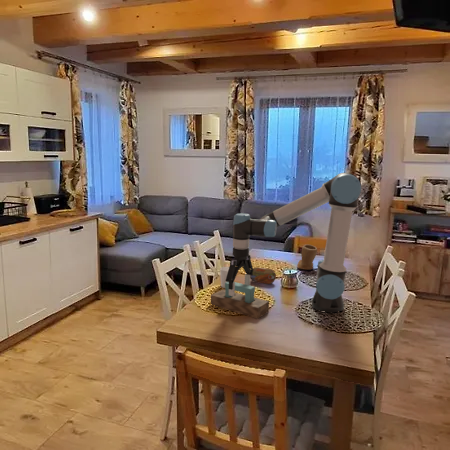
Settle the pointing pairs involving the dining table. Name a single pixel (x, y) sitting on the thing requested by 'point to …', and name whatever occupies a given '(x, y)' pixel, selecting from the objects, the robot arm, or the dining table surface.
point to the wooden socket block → (240, 304)
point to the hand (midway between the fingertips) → (239, 291)
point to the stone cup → (307, 257)
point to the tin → (263, 275)
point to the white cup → (223, 275)
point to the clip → (242, 288)
